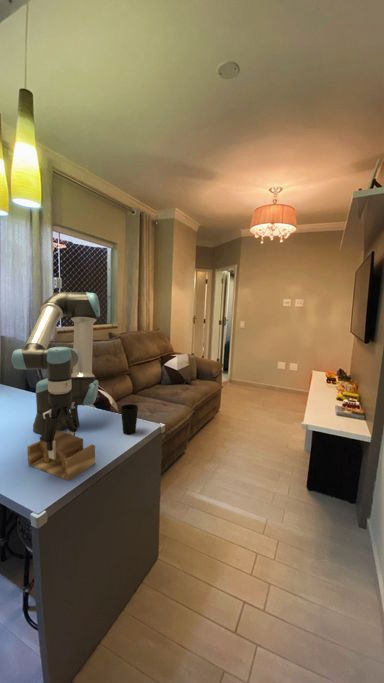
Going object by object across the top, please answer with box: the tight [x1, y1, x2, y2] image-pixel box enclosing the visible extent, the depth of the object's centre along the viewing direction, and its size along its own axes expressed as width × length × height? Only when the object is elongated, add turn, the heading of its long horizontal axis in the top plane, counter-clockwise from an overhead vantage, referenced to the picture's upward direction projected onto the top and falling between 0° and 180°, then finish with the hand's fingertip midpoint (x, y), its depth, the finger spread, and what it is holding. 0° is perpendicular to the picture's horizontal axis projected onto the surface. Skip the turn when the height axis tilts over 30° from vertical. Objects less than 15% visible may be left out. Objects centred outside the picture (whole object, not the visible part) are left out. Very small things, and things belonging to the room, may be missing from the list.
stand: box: [26, 440, 96, 481], centre depth 103 cm, size 20×12×7 cm, turn 65°
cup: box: [120, 403, 139, 436], centre depth 130 cm, size 8×8×12 cm
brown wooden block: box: [39, 430, 84, 462], centre depth 102 cm, size 14×7×6 cm, turn 62°
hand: (61, 453), depth 102 cm, fingers closed on brown wooden block, 7 cm apart
